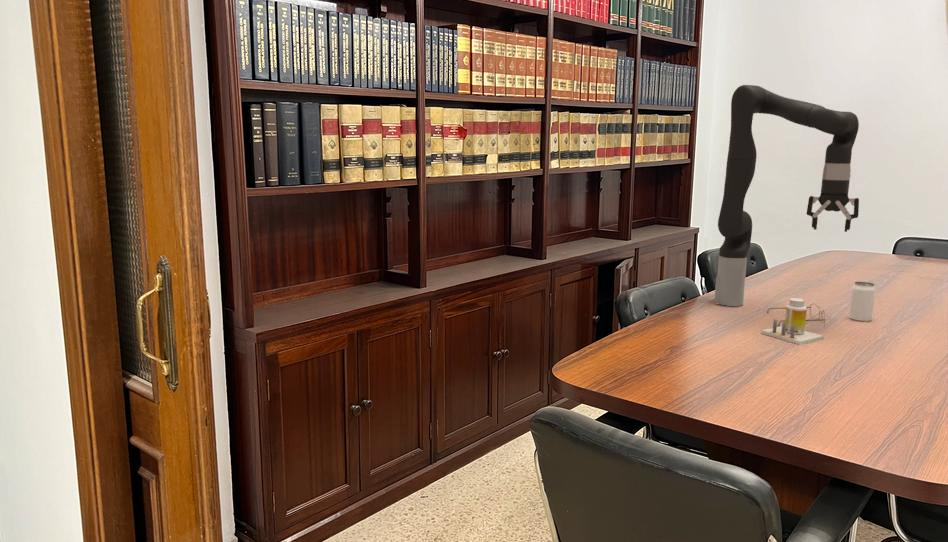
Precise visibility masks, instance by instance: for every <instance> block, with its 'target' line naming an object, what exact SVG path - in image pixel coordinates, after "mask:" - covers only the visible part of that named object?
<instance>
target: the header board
mask: <svg viewBox="0 0 948 542" xmlns="http://www.w3.org/2000/svg"><path fill="white" fill-rule="evenodd" d="M781 323H782V324H781V325H780V326H778V319H773V325H772V327H771V328H766V329H762V330H761V333H762V335H765V334H766V335H765V336H768V335H769V337H771V336H773V337H772V338H775V337H776V339H778V338H779V340H783V341H785V340H786V341H785V342H788V341H789V343H792V342H793V344H795V343H796V345H799V344H802V345H805V343H806V344H808V343H809V342H810V343H813V341H814V342H817V341H818V342H819V341H822V340H824V338H825V336H824V335H821V334H818V333H814V332H810V331H806V330H805V332H804V333H803V334H795V325H794V324H792V326H791V334H790V333H787V332H785V330H786V322H785V321H784V322H781Z"/></svg>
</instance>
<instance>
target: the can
mask: <svg viewBox="0 0 948 542" xmlns="http://www.w3.org/2000/svg"><path fill="white" fill-rule="evenodd" d="M875 293H876V287H875V284H874V283H873V282H868V281H854V284H853V285H852V289H851V299H850V305H849V306H850V307H849V319H850V320H852V319H853V320H852V321H855V320H856V322H863V321H865V323H866V321H868V322H870V321H872V320H873V311H874V305H875V304H874V303H875V295H876V294H875Z"/></svg>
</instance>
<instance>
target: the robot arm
mask: <svg viewBox="0 0 948 542" xmlns="http://www.w3.org/2000/svg"><path fill="white" fill-rule="evenodd" d="M731 96H732V97H731V103H730V132H729V142H728V151H727V158H726V159H727V160H726V166H725V168H726V169H725V176H724V177H725V179H724V187H723V196H722V197H723V198H722V202H721V207H720V211H719V215H718V219H717V228H718V231H719V233H720V235H721V236H722V237H724V240H723V243H722V245H721V246H720V248H719V251H718V265H717V276H716V278H715V286H714V287H715V288H714V289H715V290H714V302H713V303H714V304H715V303H718V304H717V305H720V304H721V305H720V306H724V305H726V306H725V307H741V305H742V306H744V299H745V298H744V296H745V285H746V276H747V274H746V272H747V261H748V260H747V259H748V252H749V249H750V247H751V242H752V241H751V240H752V235H753V220H752V217H751V215H750V214H749V213H748V211H745V210H744V206H745V205H744V204H745V200H746V199H745V198H746V195H747V193H748V191H749V188H750V186H751V183H752V181H753V178H754V176H755V173H756V172H755V171H756V164H757V149H756V148H757V147H756V144H755V139H754V136H753V131H752V126H753V120H754V119H753V118H754V114H763V115H764V114H765V115H766V114H767V115H771V116H772V115H773V116H777V117H780V118H783V119H785V120H786V121H789V122H792V123H794V124H797V125H800V126H804V127H807V128H812V129H816V130H817V131H821V132H823V133H825V134H828V135H832V136H833V137H832V141H831V143H830V144H828V145H827V147H826V150H825V157H824V165H823V171H822V178H821V188H820V195H819V196H813V195H810V196H809V197H808V201H807V202H808V203H807V208H806V215H807V216H810V217H811V219H812V220H811V227H812V229H813V230H815V231H816V230H817V229H818V220H819V219H818V217H819V215H820V214H821V213H822V212H823V211H826V212H831V211H833V212H836V213H837V212H840V211H841V212H842V215H844V217H845V218H846V219H845V221H844V222H845V223H844V233H846V232H848V231H850V229H851V222H852V220H854V219H857V218H858V217H859V211H860V210H859V209H860V206H859V205H860V198H858V197H855V198H850V197H849V189H850V182H851V181H850V180H851V171H852V170H851V168H852V167H851V164H852V163H851V162H852V154H853V153H852V152H853V147H854V144H855V141H856V138H857V134H858V132H859V127H860V126H859V125H860V123H859V117H858V116H857V115H856V114H855V113H854V112H852V111H839V110H834V109H830V108H826V107H824V106H823V105H820V104H815V103H811V102H809V101H804V100H803V101H802V100H798V99H795V98H794V99H793V98H788V97H785V96H782V95H780V94H777V93H774V92H773V91H770V90H769V89H765V88H764V87H762V86H759V85H753V84H743V85H740V86H738V87H737V88H736V89H735V90H734V92H733V94H732V95H731ZM817 201H818V202H819V204H820V207H819V208H818V209H817V210H816V211H815V212H813V205H814V204H816V202H817ZM849 203H850V204H851V206H853V213H851V214H850V212H849V211H848V209H847V208H846V206H847V204H849Z"/></svg>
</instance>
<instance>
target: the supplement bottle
mask: <svg viewBox="0 0 948 542" xmlns="http://www.w3.org/2000/svg"><path fill="white" fill-rule="evenodd" d="M805 304H806V303H805V299H804V298H800V297H791V298H790V299H789V304H787V305H786V307H785V308H786V309H785V319H784V320H785V321H784V322H786V330H785V332H787V333H790V334H791V326H792V324H794V325H795V334H803V333H804V332H805V331H806V323H807V321H806V320H807V309H808V308H806V307H807V306H806V305H805Z"/></svg>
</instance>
